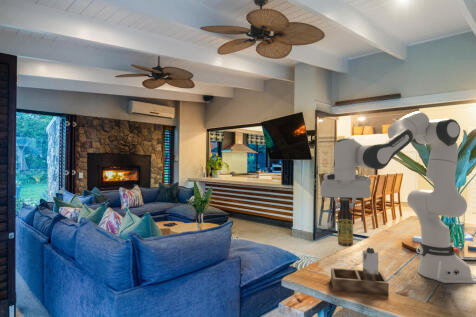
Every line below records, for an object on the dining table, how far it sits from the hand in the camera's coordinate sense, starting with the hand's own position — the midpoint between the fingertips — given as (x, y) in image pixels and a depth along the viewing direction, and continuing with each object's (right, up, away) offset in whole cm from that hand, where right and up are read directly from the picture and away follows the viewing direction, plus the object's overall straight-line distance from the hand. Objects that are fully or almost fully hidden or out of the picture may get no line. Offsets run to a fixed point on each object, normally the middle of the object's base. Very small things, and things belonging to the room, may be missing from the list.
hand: (344, 207), depth 127 cm
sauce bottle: (+1, -16, +1) cm, 16 cm away
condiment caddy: (+5, -33, -1) cm, 34 cm away
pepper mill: (+10, -33, -2) cm, 35 cm away
